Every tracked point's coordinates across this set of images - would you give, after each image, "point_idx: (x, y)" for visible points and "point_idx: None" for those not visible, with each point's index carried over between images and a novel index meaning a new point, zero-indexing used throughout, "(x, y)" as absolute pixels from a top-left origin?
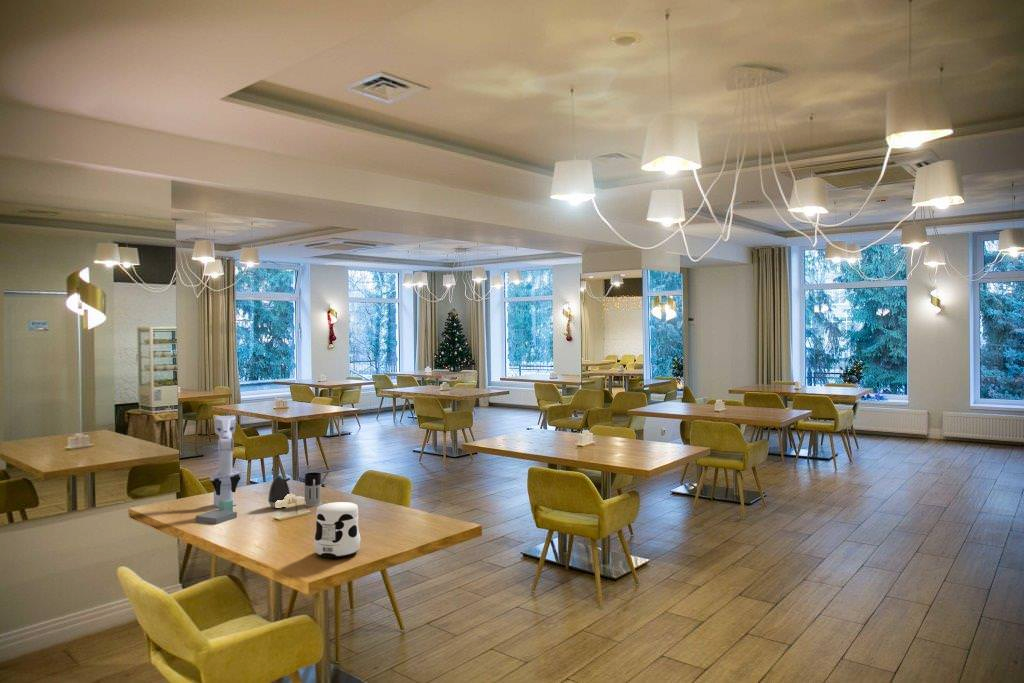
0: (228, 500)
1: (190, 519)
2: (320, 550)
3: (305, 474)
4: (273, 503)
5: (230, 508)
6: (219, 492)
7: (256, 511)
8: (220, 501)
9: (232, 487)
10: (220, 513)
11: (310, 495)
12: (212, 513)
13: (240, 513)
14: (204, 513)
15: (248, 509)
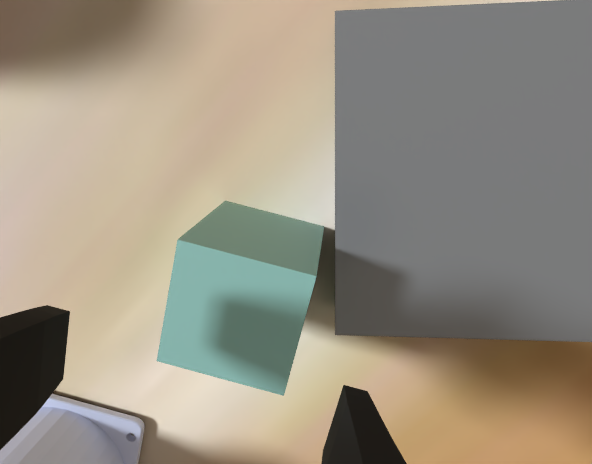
0: (199, 303)
1: (562, 408)
2: None
3: None
4: None
5: (239, 222)
6: (368, 415)
7: (48, 19)
8: (287, 361)
9: (3, 412)
10: (473, 154)
11: None
12: (503, 246)
13: (191, 124)
14: (531, 329)
15: (42, 169)
